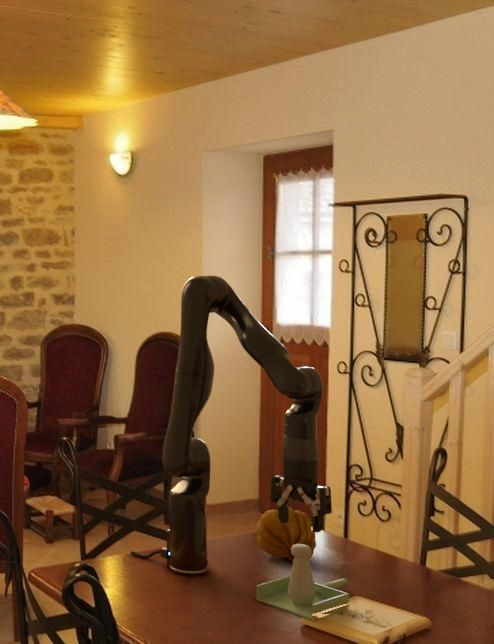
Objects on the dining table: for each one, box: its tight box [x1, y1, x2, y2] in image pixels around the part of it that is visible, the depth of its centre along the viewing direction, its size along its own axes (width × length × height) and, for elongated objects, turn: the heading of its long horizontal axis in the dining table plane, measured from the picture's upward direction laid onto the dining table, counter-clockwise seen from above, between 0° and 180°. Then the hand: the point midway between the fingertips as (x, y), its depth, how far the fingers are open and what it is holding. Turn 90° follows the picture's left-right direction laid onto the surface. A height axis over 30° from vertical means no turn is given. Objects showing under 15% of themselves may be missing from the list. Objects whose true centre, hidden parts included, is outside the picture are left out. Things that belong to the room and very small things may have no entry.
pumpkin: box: [256, 506, 317, 563], centre depth 235 cm, size 14×16×20 cm
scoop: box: [256, 574, 350, 622], centre depth 204 cm, size 22×15×3 cm, turn 122°
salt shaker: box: [288, 544, 316, 606], centre depth 202 cm, size 6×6×13 cm
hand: (300, 527), depth 202 cm, fingers open, 8 cm apart
